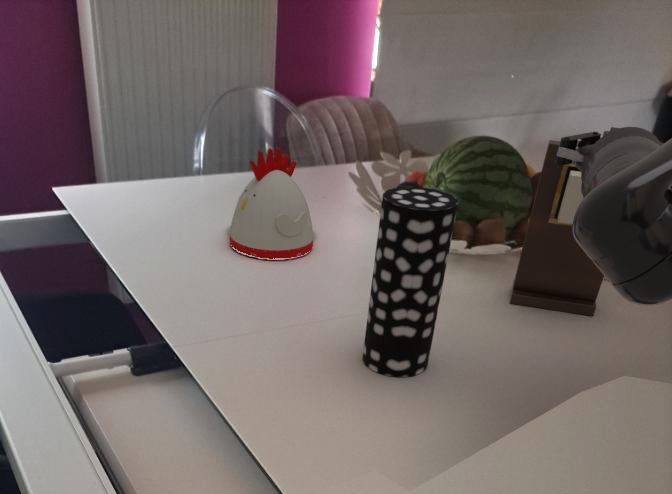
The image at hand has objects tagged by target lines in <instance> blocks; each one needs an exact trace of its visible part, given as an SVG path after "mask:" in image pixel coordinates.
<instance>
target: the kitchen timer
mask: <svg viewBox="0 0 672 494" xmlns="http://www.w3.org/2000/svg"><path fill="white" fill-rule="evenodd" d="M282 156H283V157H282ZM289 160H290V155H289V154H288V153H284V155H282V148H280V147H278V146H276V149H275V153H274V150H273V148H270V147H269V148H268V149H267V154H266V160H265V155H264V153H263V151H261V150H257V160H256V161H257V164H256V163H255V161H254V160H251V159H250V160H249V164H250V167H251V170H252V172H253V176H254V177H253V178H252V179H251V180H250V181H249V182H248V184H247V185H246V186H245V188H244V189H243V191H242V192H241V194H240V195H239V197H238V201H237V202H236V206H235V209H234V212H233V216H232V218H231V219H232V220H231V224H230V231H229V245H230V244H231V245H232V247H234V248H235V249H237V250H238V251H240V252H243V253H246V254H248V255H252V256H255V257H260V258H269V259H273V258H274V259H275V258H291V257H297V256H301V255H304V254H305V253H307V252H309V251H310V250H311V249H312V247H313V248H314V230H313V229H314V228H313V222H312V218H311V217H312V216H311V214H310V213H311V212H310V209H309V208H310V207H309V205H308V202H307V198H306V197H305V195H304V193H303V191H302V189H301V188H300V186H299V185H298V183H297V182H296V181H295V179H293V178H292V176H293V174H294V171H295V169H296V166H297V161H295V160H292V161H291V163H290V164H289V162H290V161H289ZM288 165H289V166H288ZM312 250H313V249H312Z"/></svg>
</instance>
